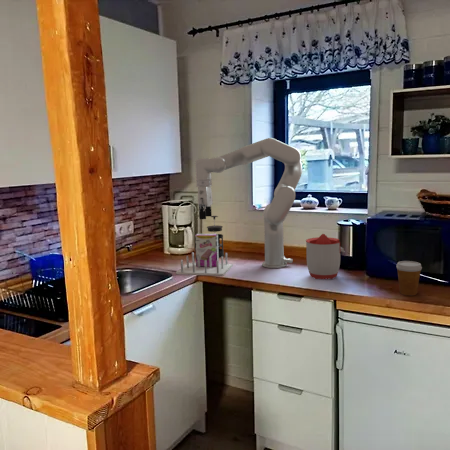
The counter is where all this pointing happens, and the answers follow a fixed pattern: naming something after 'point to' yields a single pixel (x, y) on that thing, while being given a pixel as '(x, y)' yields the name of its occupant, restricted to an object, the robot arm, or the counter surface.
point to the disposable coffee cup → (408, 276)
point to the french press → (220, 236)
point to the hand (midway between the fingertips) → (205, 217)
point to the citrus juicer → (323, 257)
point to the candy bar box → (206, 249)
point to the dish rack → (193, 270)
